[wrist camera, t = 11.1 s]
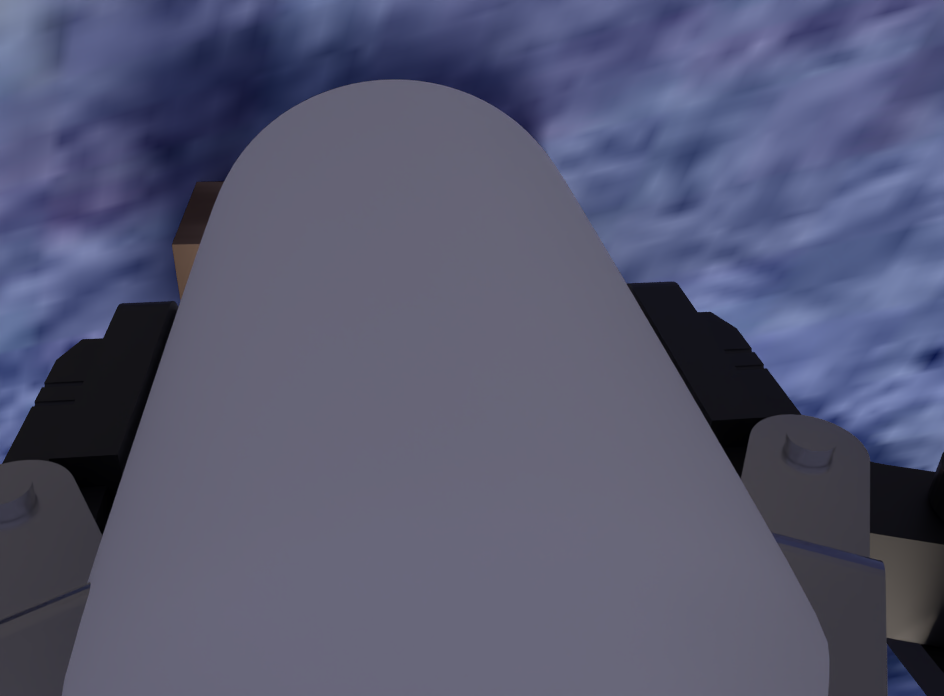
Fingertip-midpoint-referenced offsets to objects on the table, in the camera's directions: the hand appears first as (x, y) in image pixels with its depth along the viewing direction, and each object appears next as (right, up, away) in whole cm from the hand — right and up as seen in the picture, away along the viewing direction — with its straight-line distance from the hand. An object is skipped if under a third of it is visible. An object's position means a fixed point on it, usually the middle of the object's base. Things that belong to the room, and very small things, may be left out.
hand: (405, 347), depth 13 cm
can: (0, +2, +3) cm, 3 cm away
